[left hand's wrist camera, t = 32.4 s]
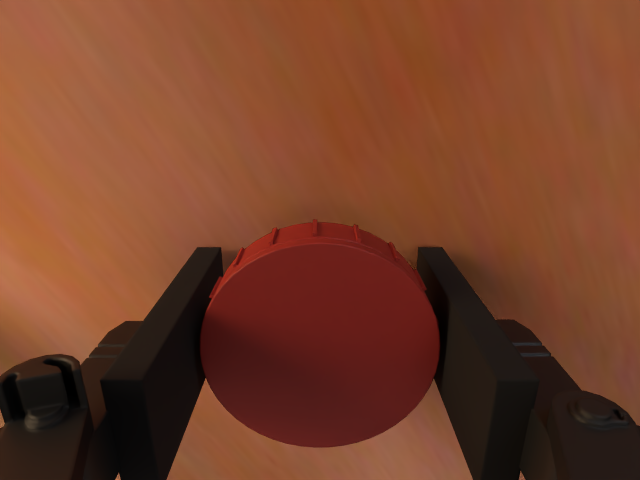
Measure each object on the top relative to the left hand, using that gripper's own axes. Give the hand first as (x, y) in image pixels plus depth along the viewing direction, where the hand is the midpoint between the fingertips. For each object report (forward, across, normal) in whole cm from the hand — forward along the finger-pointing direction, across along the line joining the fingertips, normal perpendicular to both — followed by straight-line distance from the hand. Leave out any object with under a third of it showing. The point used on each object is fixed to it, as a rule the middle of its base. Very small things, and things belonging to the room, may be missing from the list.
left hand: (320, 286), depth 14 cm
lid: (-3, 0, 0) cm, 3 cm away
